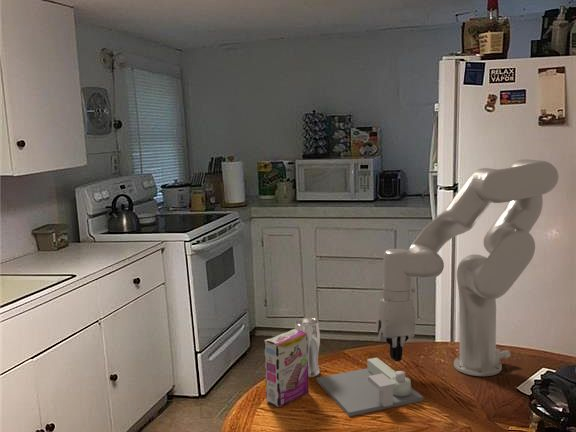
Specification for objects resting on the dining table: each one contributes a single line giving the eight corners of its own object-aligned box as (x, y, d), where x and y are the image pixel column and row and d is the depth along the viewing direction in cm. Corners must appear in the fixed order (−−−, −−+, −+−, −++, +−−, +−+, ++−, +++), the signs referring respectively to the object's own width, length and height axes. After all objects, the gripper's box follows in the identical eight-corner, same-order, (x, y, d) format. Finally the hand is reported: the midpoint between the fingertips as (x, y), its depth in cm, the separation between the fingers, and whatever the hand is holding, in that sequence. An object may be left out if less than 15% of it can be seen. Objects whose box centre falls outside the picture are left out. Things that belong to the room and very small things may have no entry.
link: (414, 394, 139) (414, 375, 138) (396, 397, 137) (396, 378, 137) (380, 367, 156) (380, 350, 155) (364, 370, 154) (363, 352, 154)
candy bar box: (280, 408, 137) (276, 344, 135) (265, 402, 141) (262, 340, 139) (310, 392, 145) (308, 331, 143) (296, 387, 149) (293, 327, 146)
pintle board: (382, 368, 158) (382, 347, 157) (424, 401, 137) (424, 377, 137) (316, 381, 152) (315, 359, 151) (350, 417, 131) (349, 392, 130)
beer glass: (319, 378, 153) (317, 325, 151) (294, 377, 155) (291, 325, 153) (322, 368, 160) (320, 317, 158) (298, 367, 161) (296, 317, 159)
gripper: (414, 288, 158) (412, 351, 160) (365, 293, 153) (365, 358, 156) (428, 295, 151) (427, 360, 153) (378, 301, 146) (377, 368, 149)
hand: (395, 359), depth 154 cm, fingers closed
